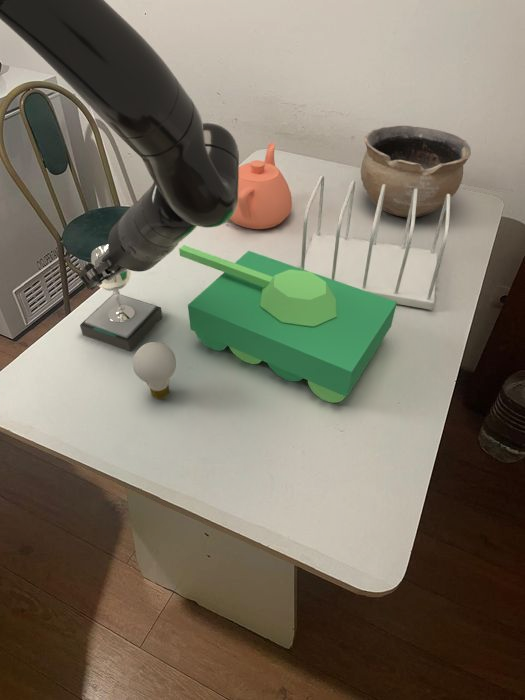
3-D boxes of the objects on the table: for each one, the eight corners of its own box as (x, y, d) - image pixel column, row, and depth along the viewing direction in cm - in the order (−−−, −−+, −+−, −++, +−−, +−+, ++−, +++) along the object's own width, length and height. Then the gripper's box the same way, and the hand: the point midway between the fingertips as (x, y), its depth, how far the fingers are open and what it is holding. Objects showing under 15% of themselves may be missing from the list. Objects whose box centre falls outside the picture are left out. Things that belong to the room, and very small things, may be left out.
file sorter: (435, 259, 103) (457, 186, 93) (431, 312, 91) (456, 236, 80) (313, 239, 108) (320, 167, 97) (294, 287, 96) (300, 212, 85)
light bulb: (136, 387, 78) (125, 339, 71) (174, 376, 79) (167, 328, 72) (146, 416, 74) (135, 368, 67) (185, 404, 76) (179, 356, 69)
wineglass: (142, 319, 85) (130, 258, 76) (107, 329, 83) (91, 267, 75) (134, 299, 89) (121, 239, 80) (100, 308, 87) (84, 247, 79)
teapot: (242, 187, 124) (241, 136, 116) (303, 197, 121) (306, 145, 113) (209, 233, 109) (205, 178, 101) (277, 245, 106) (279, 190, 98)
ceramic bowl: (350, 224, 113) (360, 157, 102) (358, 180, 128) (368, 118, 117) (454, 237, 109) (475, 169, 99) (450, 190, 125) (468, 127, 114)
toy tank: (210, 219, 90) (402, 282, 77) (214, 276, 98) (387, 342, 86) (144, 268, 79) (355, 352, 66) (155, 328, 87) (343, 412, 75)
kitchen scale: (130, 351, 83) (127, 339, 81) (82, 334, 86) (78, 322, 84) (162, 316, 90) (160, 304, 88) (117, 302, 92) (114, 290, 90)
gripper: (168, 189, 72) (125, 235, 85) (85, 232, 63) (52, 275, 77) (199, 235, 73) (152, 273, 86) (121, 283, 65) (83, 317, 78)
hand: (105, 274), depth 82 cm, fingers closed on wineglass, 5 cm apart
